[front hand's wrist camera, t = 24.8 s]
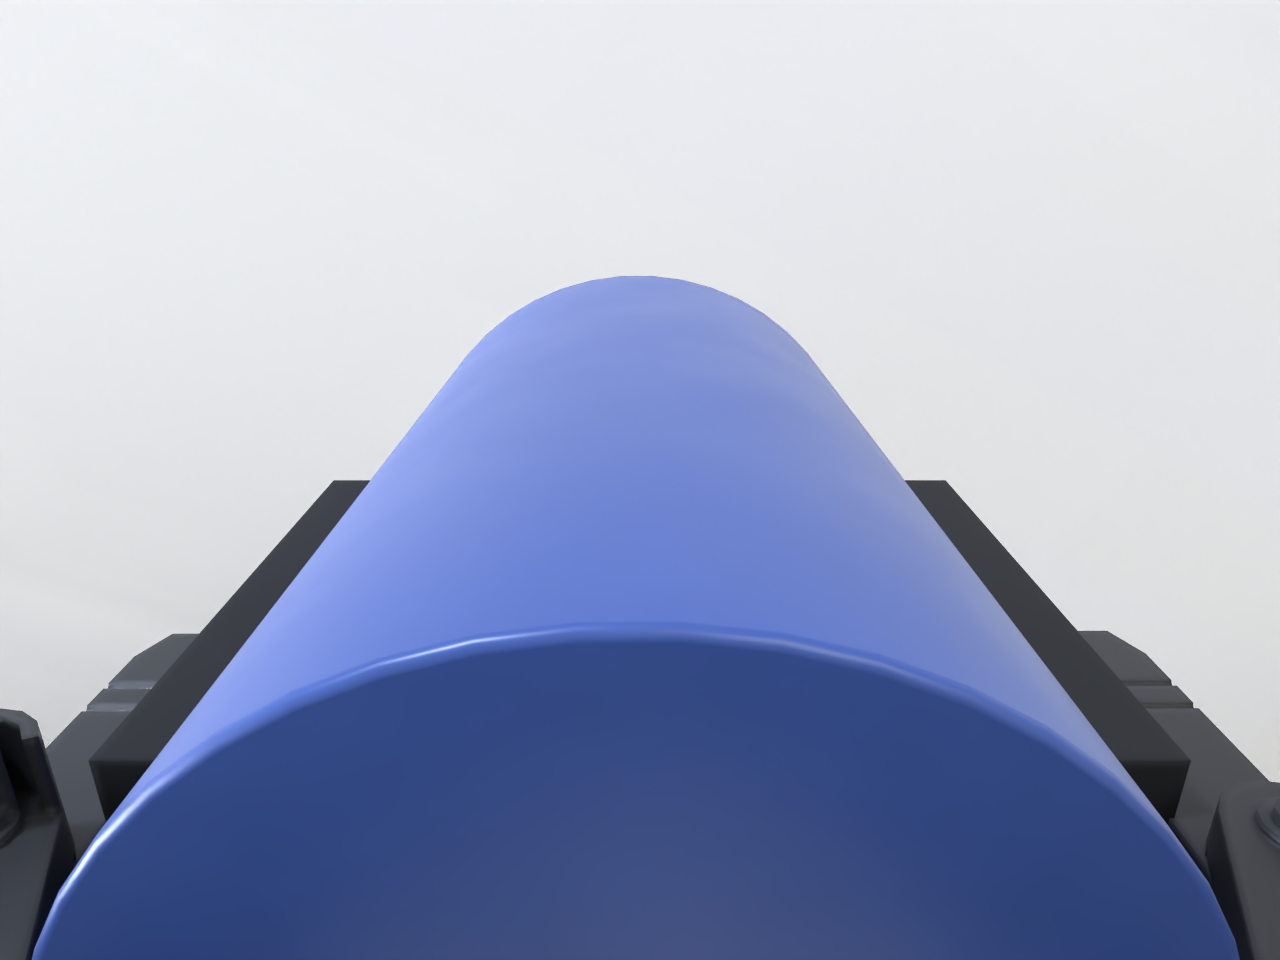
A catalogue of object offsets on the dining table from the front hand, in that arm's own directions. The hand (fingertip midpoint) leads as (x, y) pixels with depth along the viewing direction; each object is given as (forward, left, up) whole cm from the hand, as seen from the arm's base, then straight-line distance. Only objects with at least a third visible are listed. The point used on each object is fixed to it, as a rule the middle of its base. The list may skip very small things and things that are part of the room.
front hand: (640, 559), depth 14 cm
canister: (0, 0, -3) cm, 3 cm away
